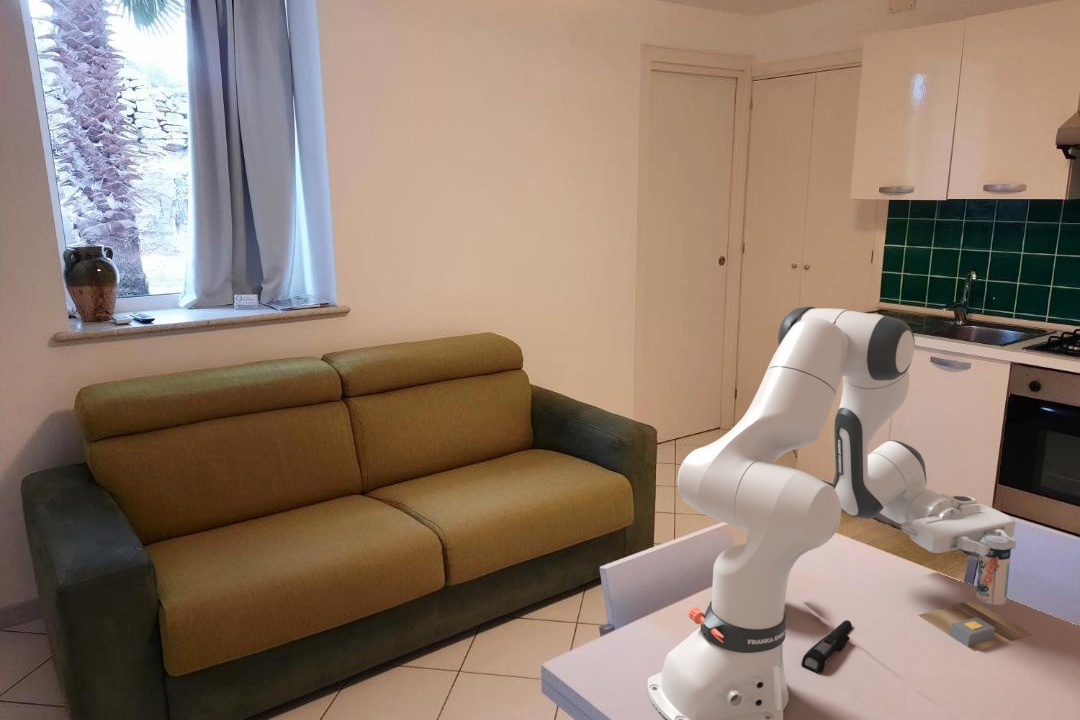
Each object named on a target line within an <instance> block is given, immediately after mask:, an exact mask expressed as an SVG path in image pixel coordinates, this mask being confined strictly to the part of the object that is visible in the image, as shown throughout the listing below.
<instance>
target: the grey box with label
mask: <svg viewBox="0 0 1080 720" xmlns="http://www.w3.org/2000/svg"><path fill="white" fill-rule="evenodd" d="M994 633H995V627H993V626H991V625H990V624H988V623H986V622H985V621H983V620H981V619H980V618H978V617H976V618H972V619H968V620H964V621H960V622H956V623H953V624H952V627H951V635H950V636H949V637H951V638H953V639H954V638H955V640H956V641H957V640H958V641H957V642H959V643H960V642H961V645H963V646H965V645H966V646H965V647H967V648H968V647H970V646H973V645H977V644H981V643H984V642H988V641H991V640H994Z"/></svg>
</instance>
